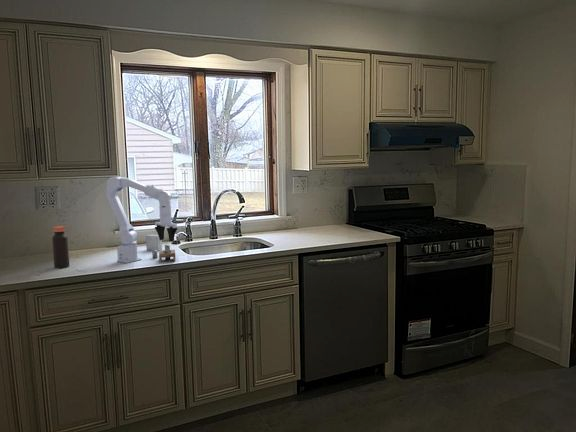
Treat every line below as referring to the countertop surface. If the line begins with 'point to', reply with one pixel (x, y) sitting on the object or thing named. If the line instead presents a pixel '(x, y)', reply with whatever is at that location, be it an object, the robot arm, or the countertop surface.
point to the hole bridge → (166, 254)
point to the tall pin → (167, 249)
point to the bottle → (60, 248)
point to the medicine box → (153, 242)
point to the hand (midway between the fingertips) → (166, 240)
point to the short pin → (154, 254)
